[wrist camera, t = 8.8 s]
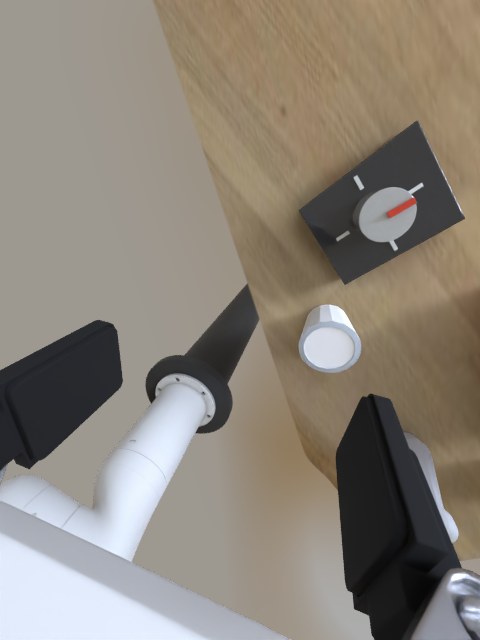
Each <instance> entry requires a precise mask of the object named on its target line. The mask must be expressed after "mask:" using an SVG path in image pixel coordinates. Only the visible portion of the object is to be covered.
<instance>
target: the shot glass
mask: <svg viewBox="0 0 480 640" xmlns="http://www.w3.org/2000/svg"><path fill="white" fill-rule="evenodd" d="M298 346H299V353H300V356H301V357H302V359H303V360H304V362H305V363H306V364H307V365H309V366H310V367H312V368H313V369H315V370H318V371H321V372H325V373H333V372H340V371H343V370H345V369H348V368H349V367H351V366H352V365H353V364H354V363H355V362H356V361H357V360H358V357H359V355H360V353H361V341H360V339H359V337H358V335H357V334H356V332H355V330H354V328H353V326H352V325H351V323H350V321H349V319H348V317H347V316H346V314H345V312H344V311H343V310H342V309H340V308H339V307H337V306H334V305H329V304H328V305H320V306H318V307H316V308H314V309H313V310H312V311H311V312H310V313H309V314H308V316H307V319H306V322H305V325H304V328H303V332H302V335H301V338H300V341H299V344H298Z"/></svg>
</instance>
